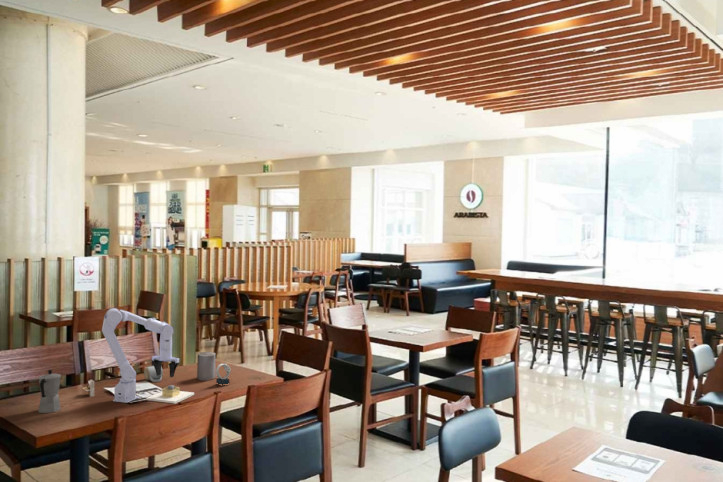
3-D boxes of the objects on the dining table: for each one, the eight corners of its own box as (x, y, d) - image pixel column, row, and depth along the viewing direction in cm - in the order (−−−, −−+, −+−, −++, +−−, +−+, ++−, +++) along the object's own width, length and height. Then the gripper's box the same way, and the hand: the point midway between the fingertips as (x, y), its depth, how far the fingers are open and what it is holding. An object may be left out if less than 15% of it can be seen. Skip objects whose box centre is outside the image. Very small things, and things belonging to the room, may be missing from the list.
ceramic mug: (143, 379, 315) (143, 365, 315) (158, 377, 320) (158, 363, 320) (150, 383, 307) (150, 369, 307) (165, 381, 312) (165, 367, 312)
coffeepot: (45, 405, 265) (45, 366, 265) (66, 405, 266) (67, 366, 266) (29, 416, 250) (29, 374, 249) (52, 416, 250) (52, 374, 250)
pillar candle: (196, 376, 323) (197, 349, 323) (214, 375, 326) (215, 349, 326) (197, 381, 314) (197, 353, 313) (215, 380, 317) (216, 352, 316)
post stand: (175, 403, 272) (175, 391, 272) (146, 400, 277) (146, 388, 277) (194, 394, 288) (194, 383, 288) (166, 391, 292) (166, 380, 292)
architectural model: (86, 398, 280) (87, 382, 279) (82, 395, 285) (82, 380, 285) (94, 397, 282) (94, 381, 282) (89, 393, 287) (89, 378, 287)
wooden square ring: (172, 397, 279) (172, 390, 279) (162, 396, 281) (162, 388, 280) (179, 394, 284) (179, 387, 284) (169, 393, 286) (169, 386, 286)
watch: (232, 384, 309) (232, 363, 309) (219, 386, 303) (219, 365, 303) (226, 382, 313) (226, 361, 313) (213, 384, 307) (213, 364, 307)
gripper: (183, 348, 287) (182, 375, 288) (158, 345, 292) (158, 372, 292) (174, 350, 281) (174, 378, 281) (149, 348, 285) (148, 375, 285)
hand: (165, 376), depth 286 cm, fingers open, 7 cm apart
